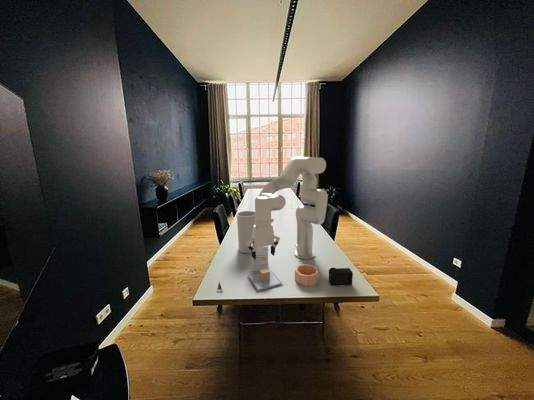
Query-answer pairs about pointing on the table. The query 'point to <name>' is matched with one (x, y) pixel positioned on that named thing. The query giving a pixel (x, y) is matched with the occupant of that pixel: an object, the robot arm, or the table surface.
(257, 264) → the supplement box
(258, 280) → the lid
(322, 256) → the table surface
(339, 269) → the digital camera
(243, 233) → the cylinder vase
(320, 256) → the table surface
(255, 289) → the mat
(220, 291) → the smartphone
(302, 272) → the bowl
